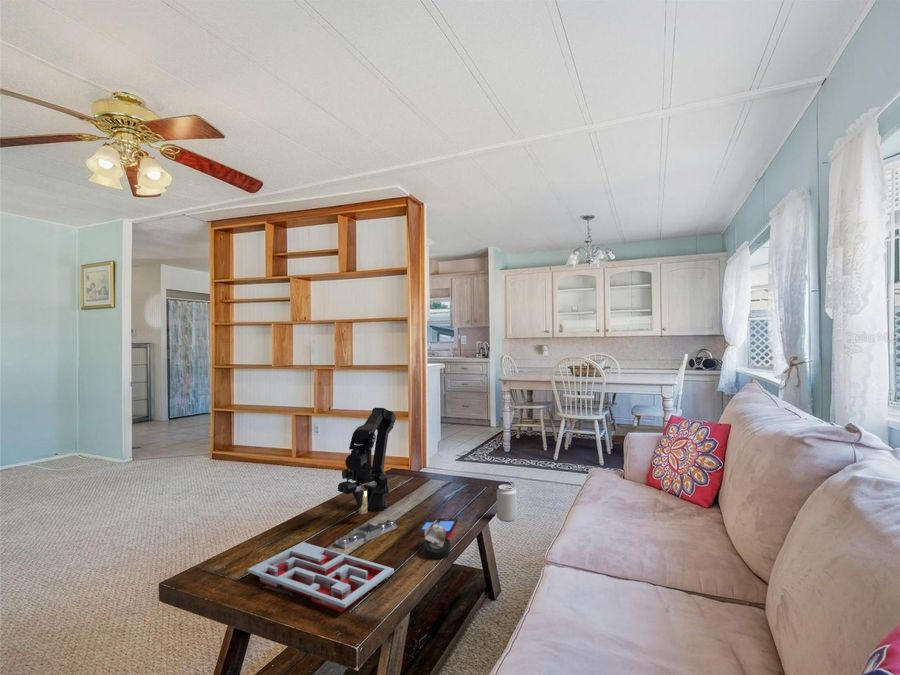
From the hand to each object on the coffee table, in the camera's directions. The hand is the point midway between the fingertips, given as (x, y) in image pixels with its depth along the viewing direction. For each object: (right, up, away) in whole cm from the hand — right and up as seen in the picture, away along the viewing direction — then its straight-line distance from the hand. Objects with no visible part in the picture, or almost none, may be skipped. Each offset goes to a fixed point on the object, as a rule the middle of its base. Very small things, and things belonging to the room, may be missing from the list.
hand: (363, 506), depth 161 cm
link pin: (0, -2, 0) cm, 2 cm away
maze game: (-4, -5, -40) cm, 40 cm away
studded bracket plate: (+4, -6, -11) cm, 13 cm away
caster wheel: (+28, -6, -22) cm, 36 cm away
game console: (+27, -7, -5) cm, 29 cm away
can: (+53, -6, +4) cm, 53 cm away
